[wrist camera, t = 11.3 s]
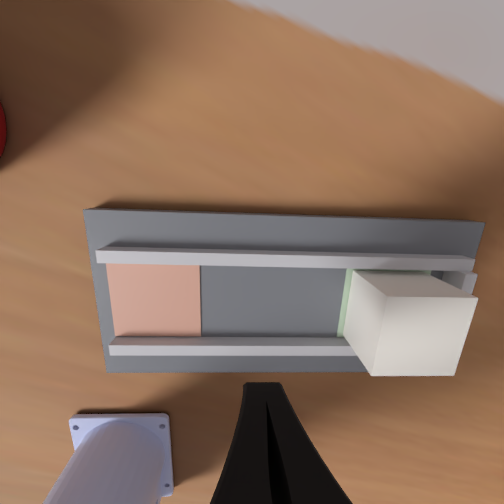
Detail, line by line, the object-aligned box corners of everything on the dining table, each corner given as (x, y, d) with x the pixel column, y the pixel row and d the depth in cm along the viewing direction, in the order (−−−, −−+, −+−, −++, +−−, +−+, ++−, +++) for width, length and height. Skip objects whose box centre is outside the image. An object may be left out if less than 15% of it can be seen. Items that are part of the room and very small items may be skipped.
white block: (408, 335, 18) (454, 375, 14) (342, 334, 18) (371, 376, 14) (423, 271, 17) (478, 298, 13) (353, 270, 16) (387, 296, 13)
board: (429, 361, 20) (458, 388, 18) (114, 361, 19) (94, 390, 16) (469, 220, 17) (511, 226, 15) (94, 207, 16) (64, 212, 13)
